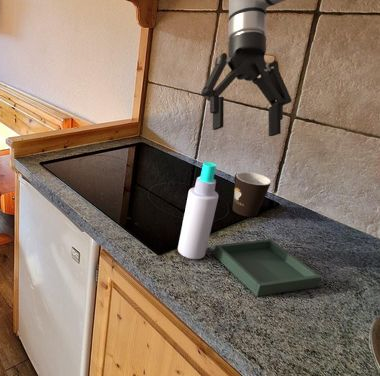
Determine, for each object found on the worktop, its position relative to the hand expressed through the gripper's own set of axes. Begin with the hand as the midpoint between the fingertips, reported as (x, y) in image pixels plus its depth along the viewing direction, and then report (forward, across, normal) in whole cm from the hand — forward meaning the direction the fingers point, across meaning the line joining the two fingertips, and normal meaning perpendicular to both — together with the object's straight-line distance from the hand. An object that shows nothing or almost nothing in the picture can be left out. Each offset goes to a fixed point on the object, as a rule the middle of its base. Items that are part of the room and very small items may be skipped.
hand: (246, 131), depth 87 cm
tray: (+29, -6, -3) cm, 30 cm away
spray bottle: (+27, +6, -11) cm, 30 cm away
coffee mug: (+14, -18, -26) cm, 35 cm away
